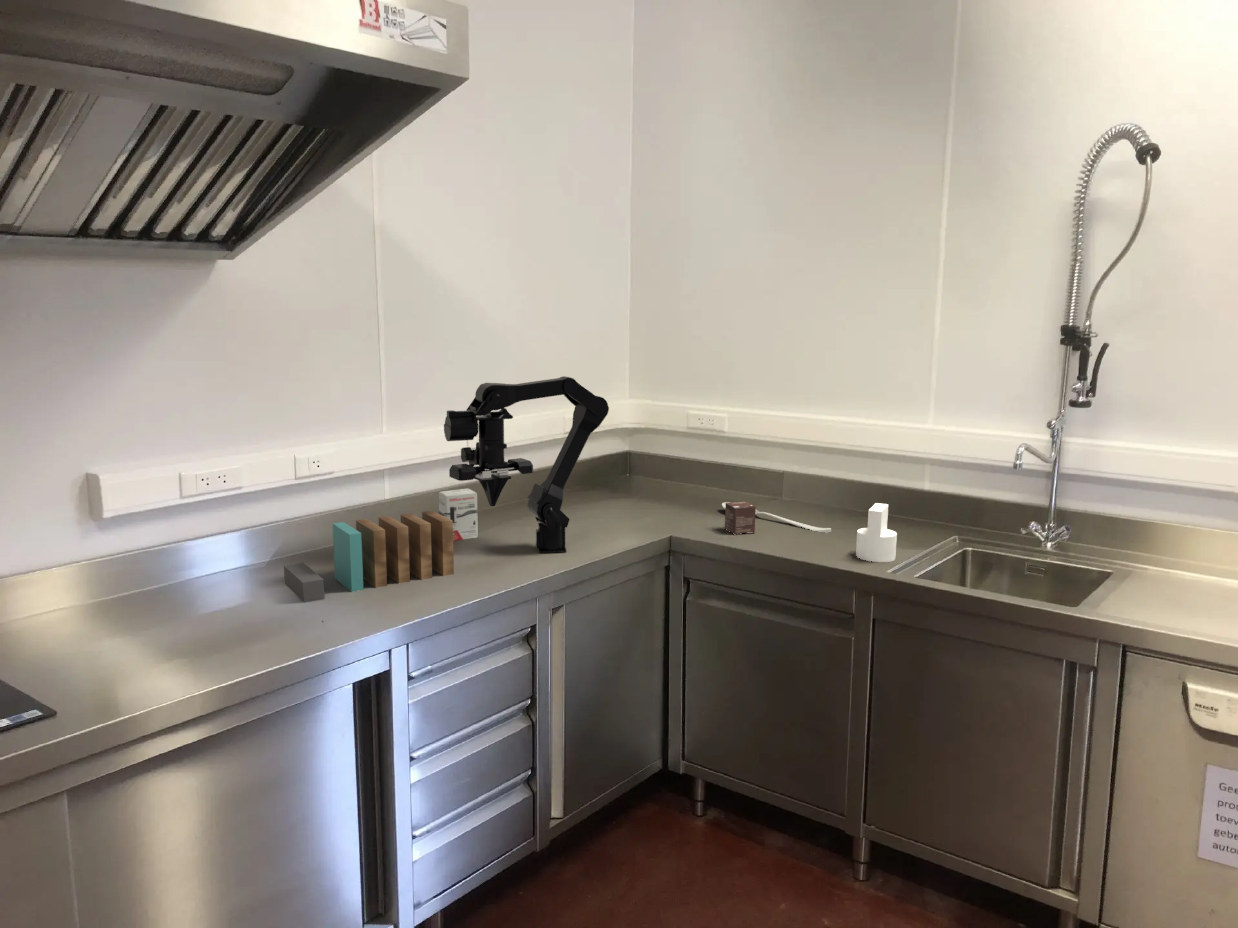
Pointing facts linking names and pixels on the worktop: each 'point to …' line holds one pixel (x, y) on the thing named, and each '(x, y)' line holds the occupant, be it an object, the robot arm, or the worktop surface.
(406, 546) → the domino
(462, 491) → the ink box
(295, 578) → the block
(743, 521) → the box
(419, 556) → the domino
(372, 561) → the domino
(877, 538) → the cylinder with rectangular tab
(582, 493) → the worktop surface
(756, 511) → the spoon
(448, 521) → the domino
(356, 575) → the domino
